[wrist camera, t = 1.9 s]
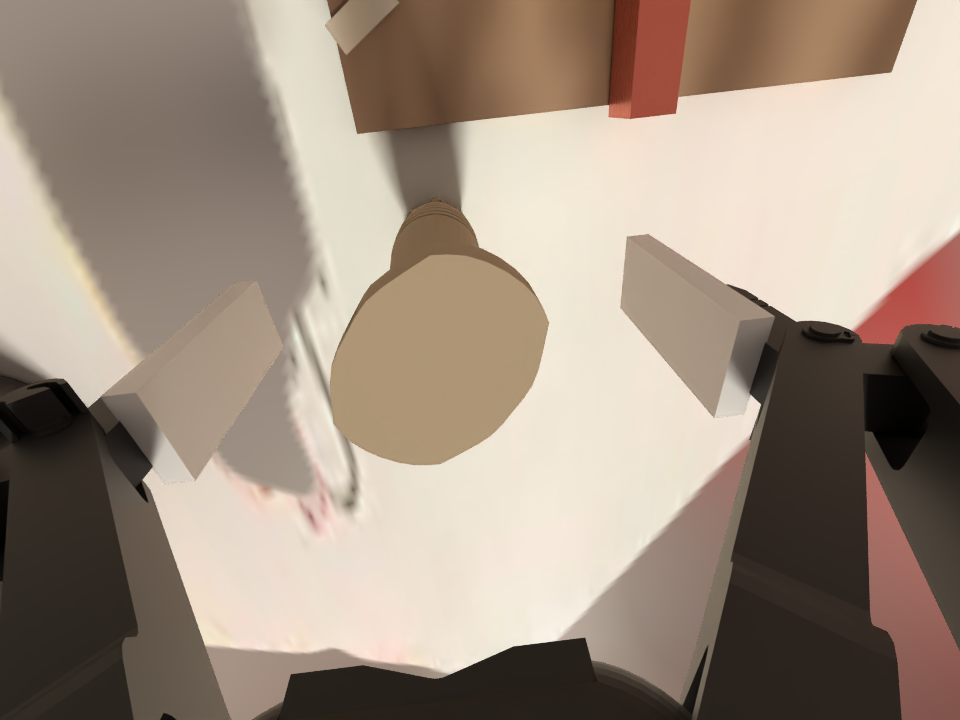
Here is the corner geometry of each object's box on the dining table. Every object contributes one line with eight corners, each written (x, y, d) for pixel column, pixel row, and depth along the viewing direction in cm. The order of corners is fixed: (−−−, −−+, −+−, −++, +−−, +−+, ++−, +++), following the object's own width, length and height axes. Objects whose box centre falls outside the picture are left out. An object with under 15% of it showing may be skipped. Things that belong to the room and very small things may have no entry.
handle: (372, 253, 24) (297, 427, 11) (425, 147, 21) (408, 213, 8) (445, 293, 25) (453, 483, 13) (503, 199, 23) (587, 320, 10)
